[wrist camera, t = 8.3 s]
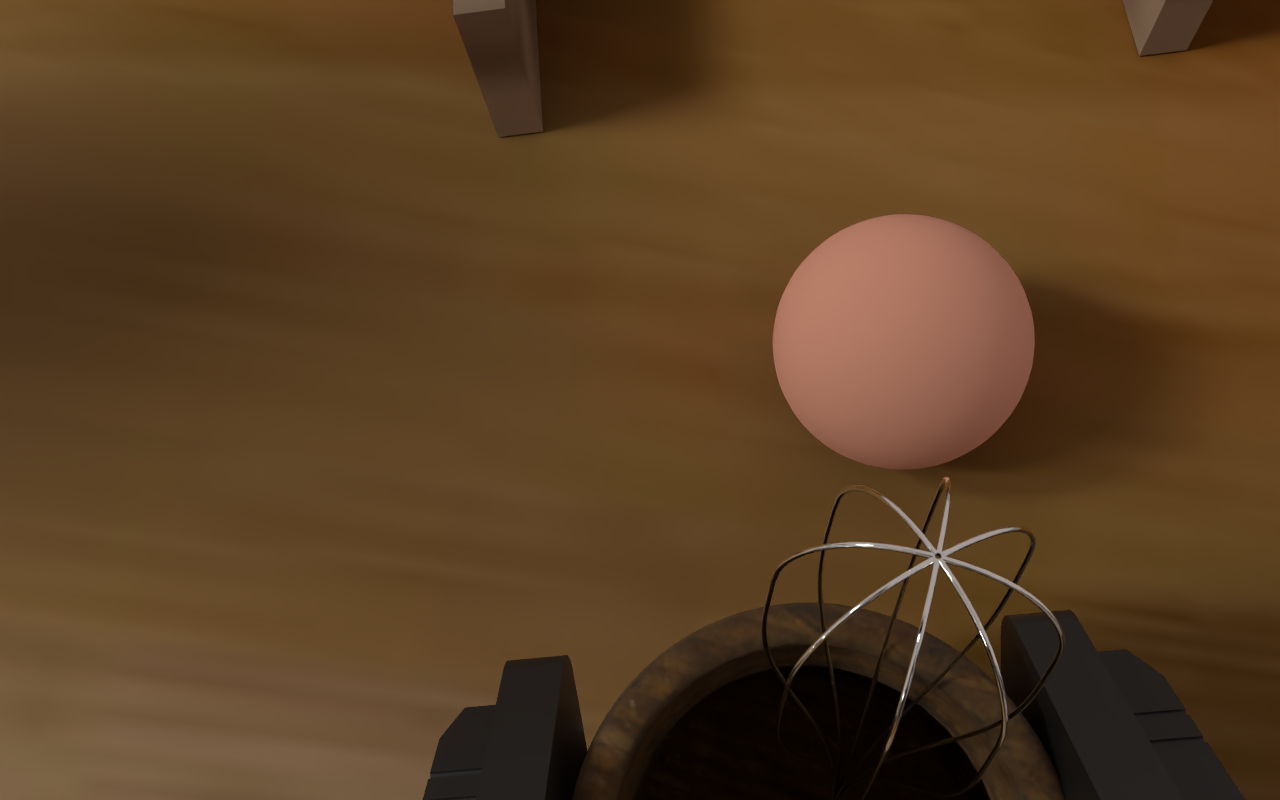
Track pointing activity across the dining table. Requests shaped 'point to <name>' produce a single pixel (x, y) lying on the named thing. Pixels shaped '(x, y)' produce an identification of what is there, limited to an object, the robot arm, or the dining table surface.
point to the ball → (903, 341)
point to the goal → (510, 73)
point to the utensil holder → (827, 703)
